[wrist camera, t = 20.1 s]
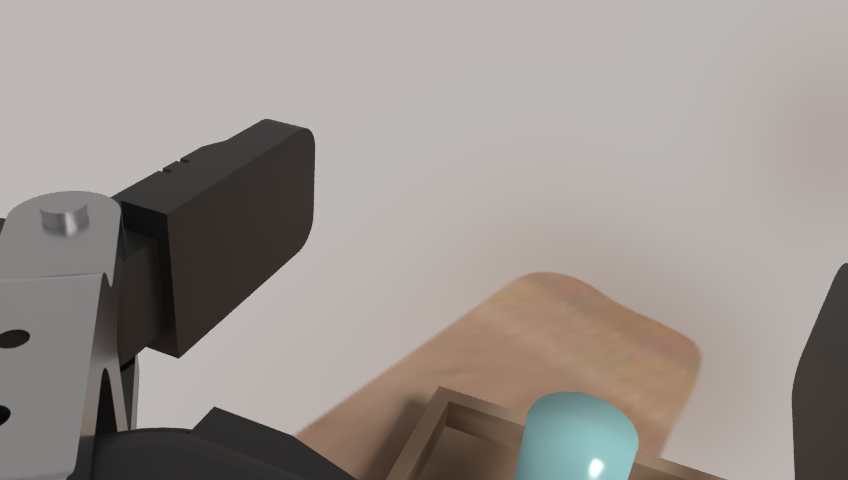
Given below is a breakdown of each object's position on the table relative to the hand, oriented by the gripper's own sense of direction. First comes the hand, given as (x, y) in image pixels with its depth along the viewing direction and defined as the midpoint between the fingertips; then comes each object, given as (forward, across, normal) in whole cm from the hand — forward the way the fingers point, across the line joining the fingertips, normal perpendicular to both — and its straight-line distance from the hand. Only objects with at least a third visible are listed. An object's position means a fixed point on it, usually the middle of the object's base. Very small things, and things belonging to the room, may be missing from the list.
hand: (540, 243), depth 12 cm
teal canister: (+16, -1, +27) cm, 32 cm away
